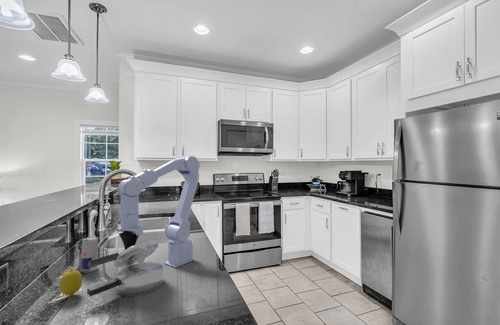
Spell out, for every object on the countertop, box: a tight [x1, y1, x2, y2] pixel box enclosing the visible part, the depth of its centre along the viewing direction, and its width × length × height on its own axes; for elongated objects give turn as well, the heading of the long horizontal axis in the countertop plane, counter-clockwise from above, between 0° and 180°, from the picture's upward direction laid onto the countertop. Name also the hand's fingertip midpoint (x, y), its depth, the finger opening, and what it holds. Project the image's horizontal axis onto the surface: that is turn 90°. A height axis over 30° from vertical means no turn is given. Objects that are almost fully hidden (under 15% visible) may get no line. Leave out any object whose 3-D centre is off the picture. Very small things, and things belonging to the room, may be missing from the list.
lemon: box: [59, 269, 83, 297], centre depth 73 cm, size 6×6×8 cm
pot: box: [86, 261, 164, 298], centre depth 76 cm, size 22×14×5 cm, turn 143°
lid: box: [88, 239, 159, 268], centre depth 78 cm, size 21×14×2 cm
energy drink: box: [80, 236, 99, 274], centre depth 92 cm, size 5×5×12 cm
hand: (129, 252), depth 84 cm, fingers closed
